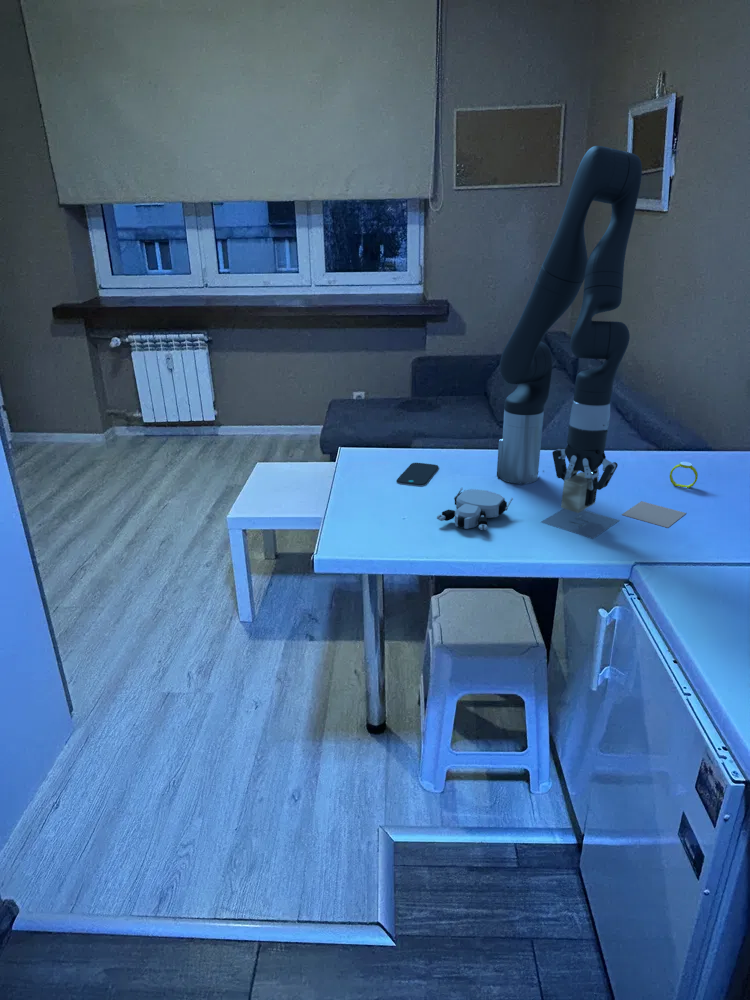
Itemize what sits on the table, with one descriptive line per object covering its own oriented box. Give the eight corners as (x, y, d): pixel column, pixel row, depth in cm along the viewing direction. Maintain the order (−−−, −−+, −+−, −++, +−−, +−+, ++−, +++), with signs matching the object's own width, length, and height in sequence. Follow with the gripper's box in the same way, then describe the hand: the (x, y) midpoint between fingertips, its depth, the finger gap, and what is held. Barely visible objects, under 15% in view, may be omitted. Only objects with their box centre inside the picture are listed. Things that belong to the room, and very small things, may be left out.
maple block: (560, 507, 142) (564, 480, 140) (577, 498, 147) (581, 472, 145) (578, 513, 140) (581, 485, 137) (595, 503, 144) (598, 476, 142)
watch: (695, 488, 163) (701, 464, 160) (693, 491, 161) (699, 468, 158) (668, 481, 166) (674, 459, 163) (666, 485, 163) (672, 462, 161)
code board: (540, 522, 144) (540, 521, 144) (568, 506, 153) (568, 505, 152) (593, 539, 137) (593, 538, 137) (619, 521, 145) (619, 520, 145)
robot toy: (487, 542, 138) (513, 512, 150) (487, 523, 136) (514, 493, 148) (432, 530, 144) (462, 501, 156) (432, 511, 142) (462, 483, 154)
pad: (621, 515, 148) (621, 514, 147) (641, 502, 154) (641, 501, 154) (667, 528, 141) (667, 527, 141) (686, 514, 148) (686, 513, 148)
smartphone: (394, 481, 167) (412, 461, 180) (394, 484, 167) (412, 464, 180) (424, 484, 164) (440, 464, 177) (424, 488, 164) (440, 468, 177)
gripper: (547, 419, 138) (539, 497, 145) (613, 435, 129) (601, 517, 136) (566, 412, 143) (558, 488, 150) (631, 426, 134) (618, 506, 141)
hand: (578, 501), depth 143 cm, fingers closed on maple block, 4 cm apart
